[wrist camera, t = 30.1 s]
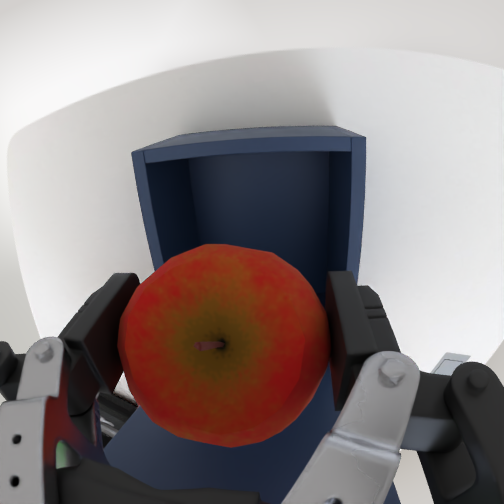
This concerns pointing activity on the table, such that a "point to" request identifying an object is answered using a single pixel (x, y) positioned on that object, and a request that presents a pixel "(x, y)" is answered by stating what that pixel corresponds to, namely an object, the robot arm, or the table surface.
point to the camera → (112, 415)
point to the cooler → (258, 195)
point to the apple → (224, 345)
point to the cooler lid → (227, 454)
